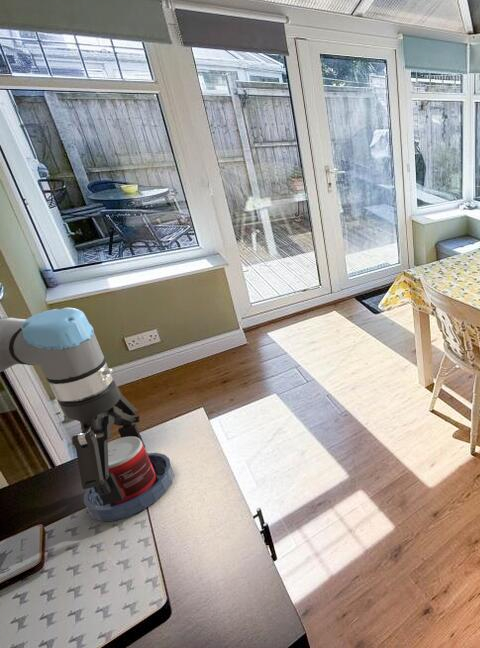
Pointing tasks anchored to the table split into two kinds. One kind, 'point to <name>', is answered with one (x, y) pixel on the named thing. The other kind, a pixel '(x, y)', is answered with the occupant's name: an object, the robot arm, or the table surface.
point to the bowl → (137, 504)
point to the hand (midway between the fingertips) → (126, 473)
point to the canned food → (130, 467)
